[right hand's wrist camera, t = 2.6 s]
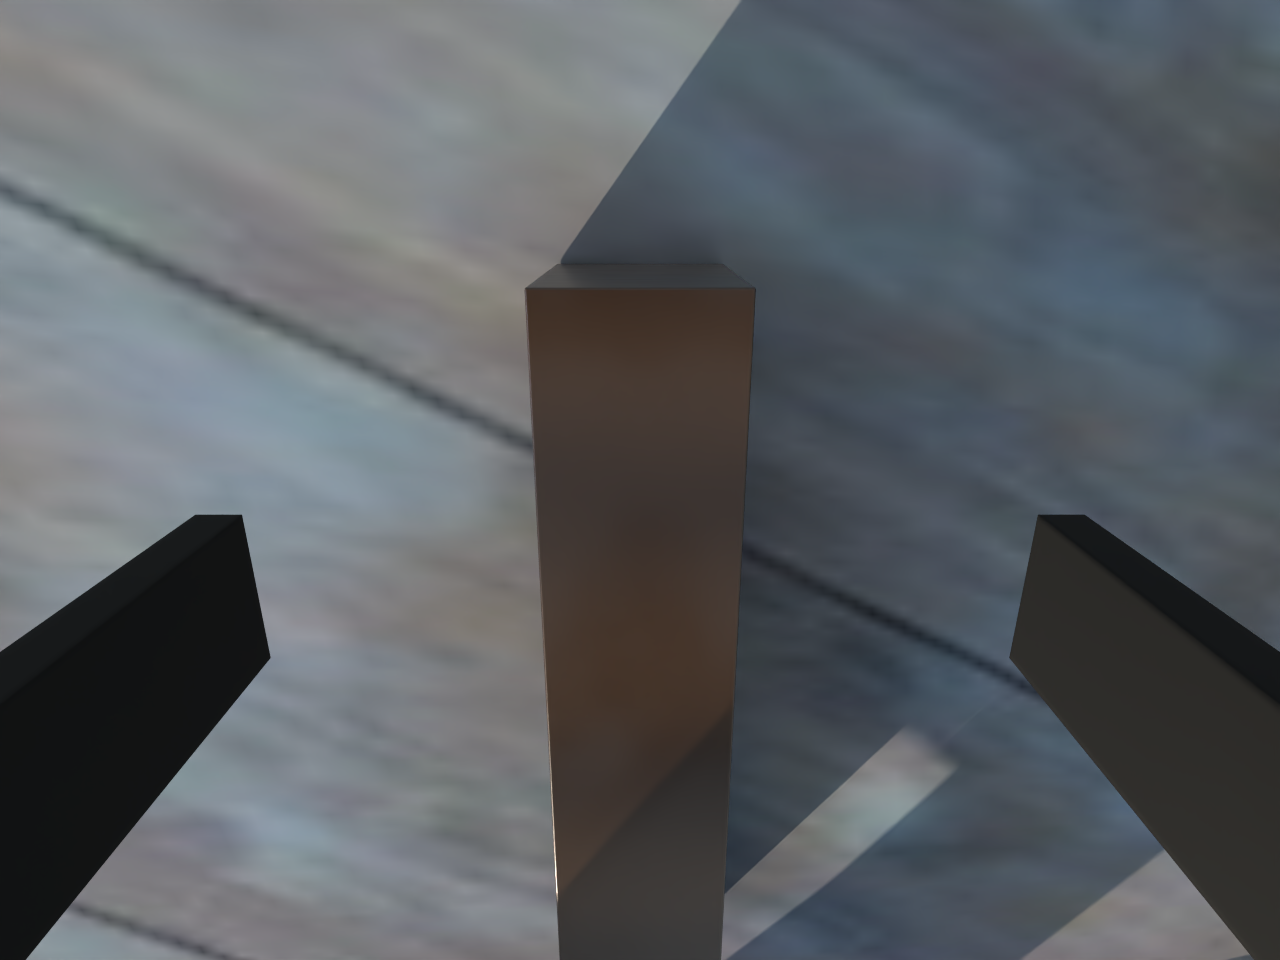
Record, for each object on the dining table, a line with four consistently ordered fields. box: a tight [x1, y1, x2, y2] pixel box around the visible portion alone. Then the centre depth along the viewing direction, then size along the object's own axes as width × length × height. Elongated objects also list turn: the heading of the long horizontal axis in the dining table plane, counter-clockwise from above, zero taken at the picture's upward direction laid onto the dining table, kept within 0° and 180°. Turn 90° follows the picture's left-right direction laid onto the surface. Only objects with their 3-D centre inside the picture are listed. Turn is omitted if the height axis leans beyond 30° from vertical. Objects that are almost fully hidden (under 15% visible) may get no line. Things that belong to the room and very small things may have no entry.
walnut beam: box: [525, 264, 756, 960], centre depth 29 cm, size 32×6×8 cm, turn 0°
